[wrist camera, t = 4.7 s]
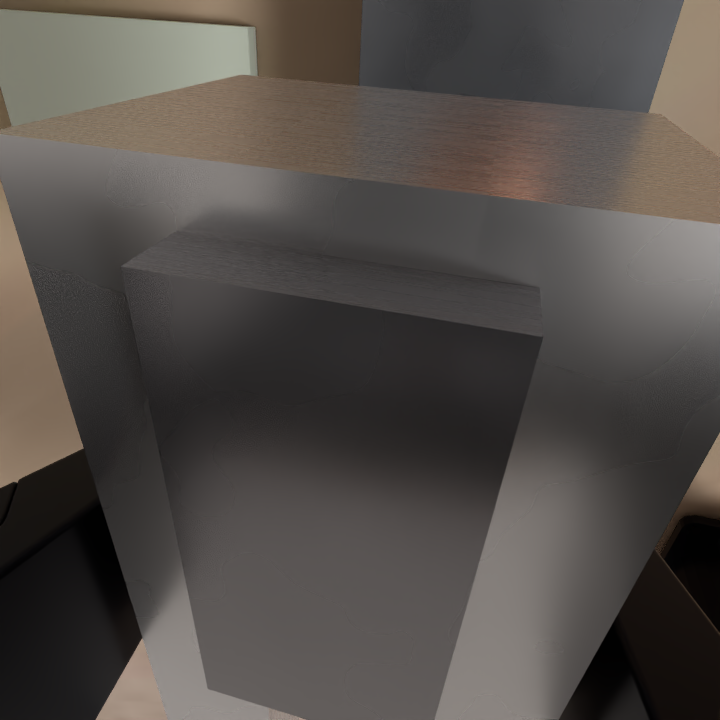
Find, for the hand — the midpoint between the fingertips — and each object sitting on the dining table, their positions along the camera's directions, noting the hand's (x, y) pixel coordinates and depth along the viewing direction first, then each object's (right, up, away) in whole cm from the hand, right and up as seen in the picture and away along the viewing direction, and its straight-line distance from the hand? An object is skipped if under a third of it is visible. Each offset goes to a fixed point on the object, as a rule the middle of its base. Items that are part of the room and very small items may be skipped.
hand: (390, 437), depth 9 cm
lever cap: (0, 0, 0) cm, 0 cm away
